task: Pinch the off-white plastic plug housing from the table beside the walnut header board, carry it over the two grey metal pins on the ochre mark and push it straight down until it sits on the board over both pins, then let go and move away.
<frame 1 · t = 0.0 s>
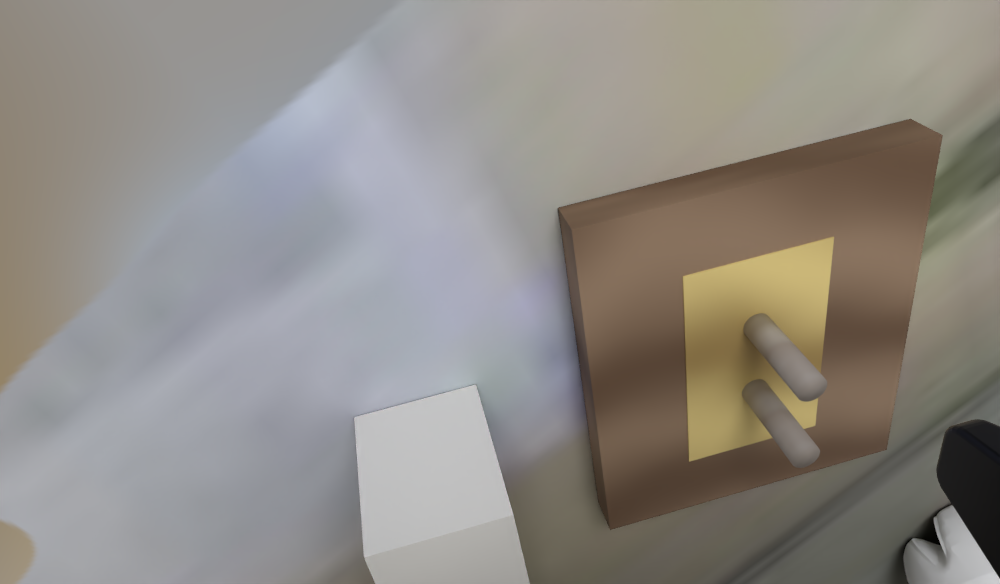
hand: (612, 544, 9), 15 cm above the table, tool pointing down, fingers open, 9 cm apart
plug housing: (438, 475, 29), on the table
header board: (735, 333, 28), on the table
water bottle: (949, 530, 39), on the table
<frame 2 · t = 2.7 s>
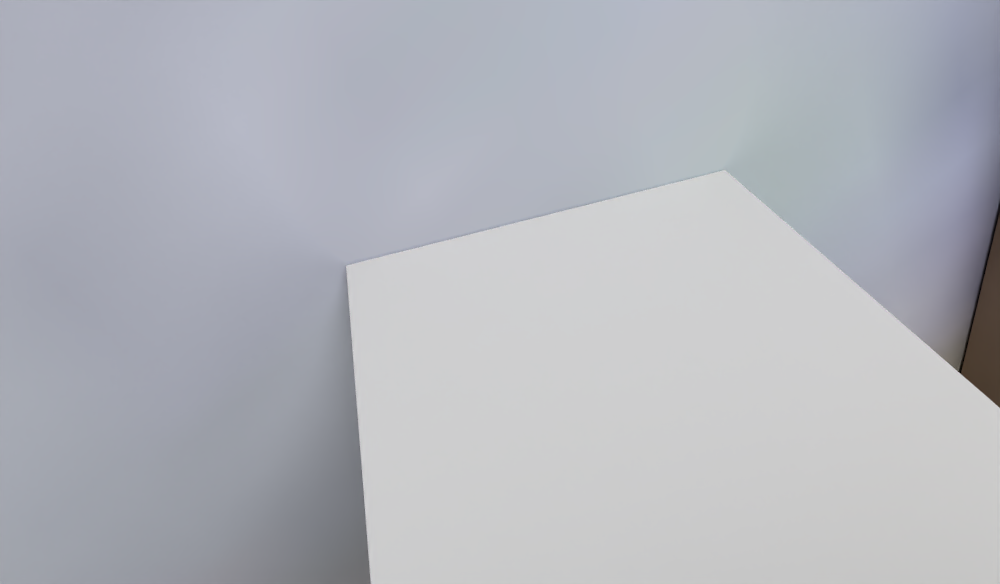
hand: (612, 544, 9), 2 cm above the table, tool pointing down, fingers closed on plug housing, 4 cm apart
plug housing: (576, 457, 11), on the table, touching gripper
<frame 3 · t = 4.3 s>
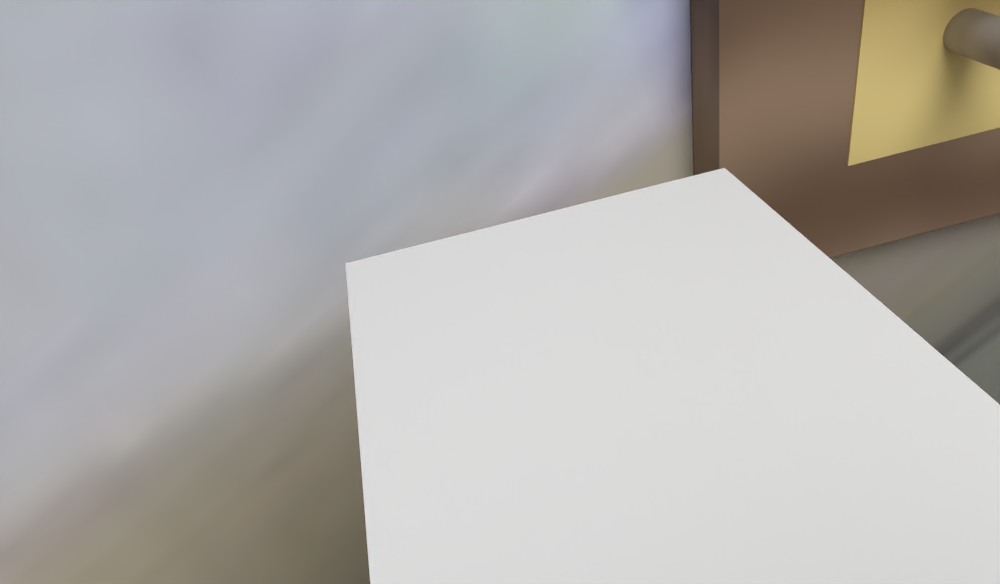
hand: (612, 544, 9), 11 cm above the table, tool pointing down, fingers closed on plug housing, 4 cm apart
plug housing: (576, 455, 11), point 10 cm above the table, touching gripper
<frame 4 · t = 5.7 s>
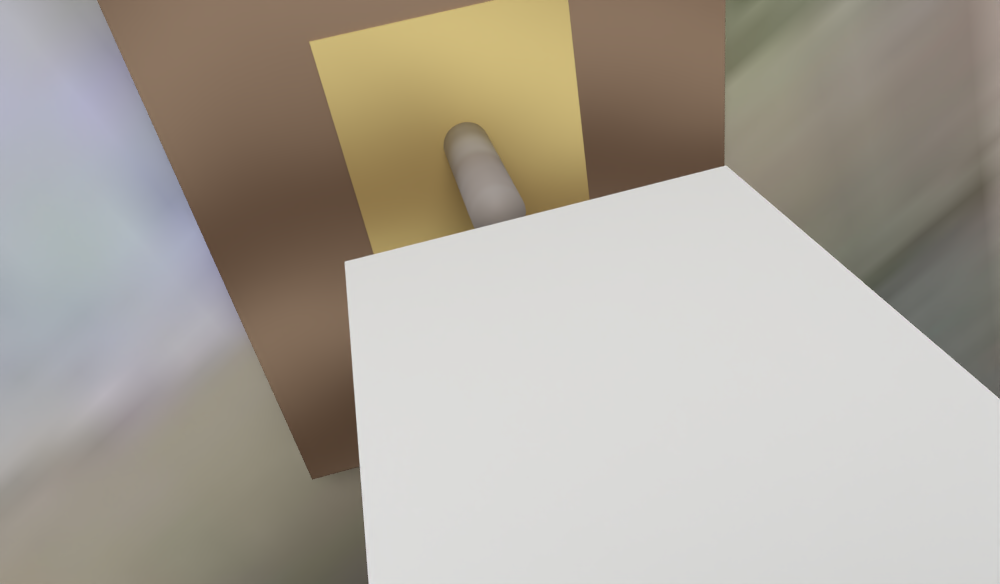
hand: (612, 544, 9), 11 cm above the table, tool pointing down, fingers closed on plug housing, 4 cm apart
plug housing: (576, 455, 11), point 10 cm above the table, touching gripper
header board: (467, 177, 18), on the table
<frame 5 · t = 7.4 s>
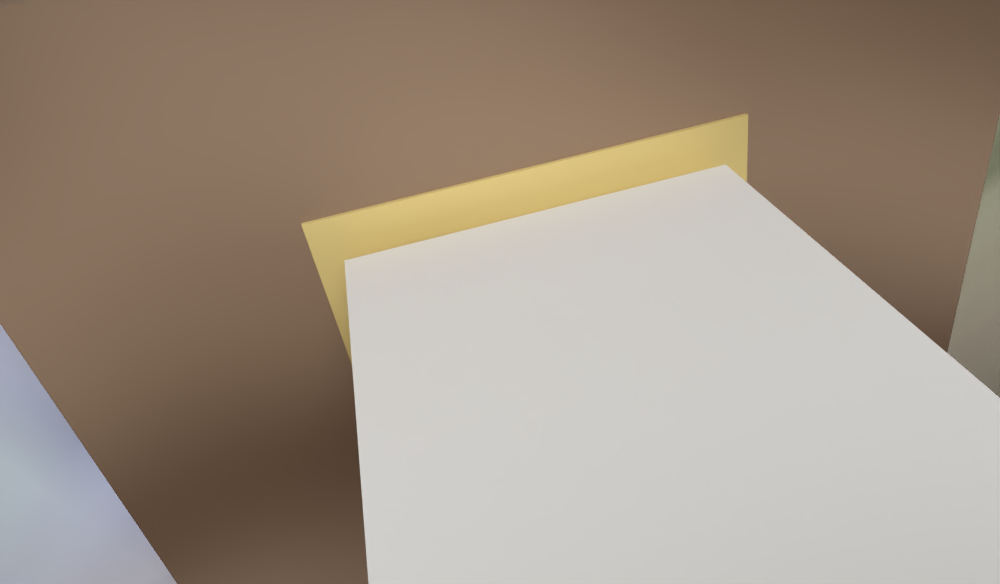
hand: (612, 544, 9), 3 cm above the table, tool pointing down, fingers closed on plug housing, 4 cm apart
plug housing: (576, 454, 11), point 2 cm above the table, touching gripper
header board: (545, 372, 12), on the table
when the fingers open (3 cm above the table, at t = 8.6 s): plug housing stays where it is, resting on header board.
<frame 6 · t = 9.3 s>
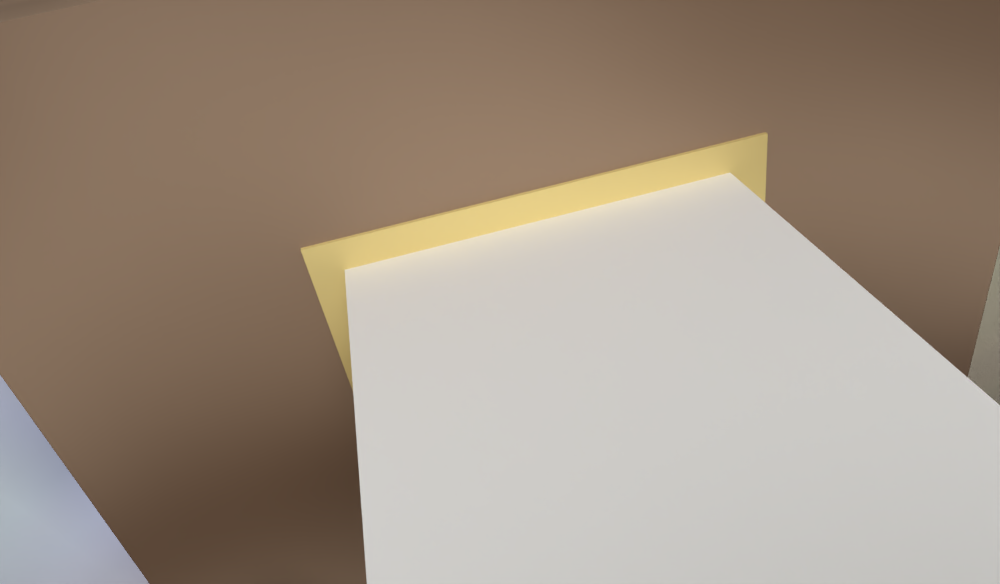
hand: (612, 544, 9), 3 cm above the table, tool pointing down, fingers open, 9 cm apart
plug housing: (578, 463, 10), point 2 cm above the table, touching header board
header board: (552, 393, 12), on the table
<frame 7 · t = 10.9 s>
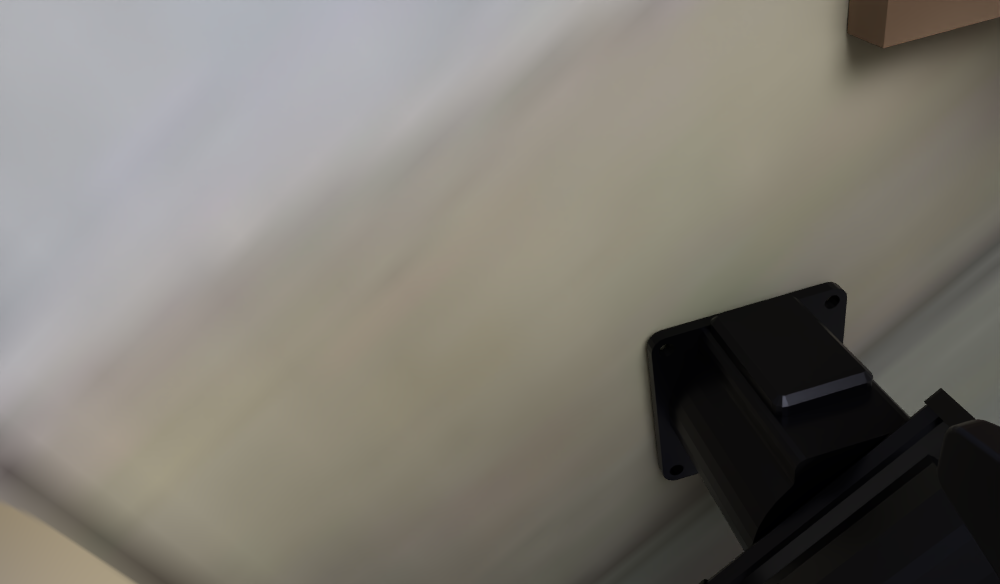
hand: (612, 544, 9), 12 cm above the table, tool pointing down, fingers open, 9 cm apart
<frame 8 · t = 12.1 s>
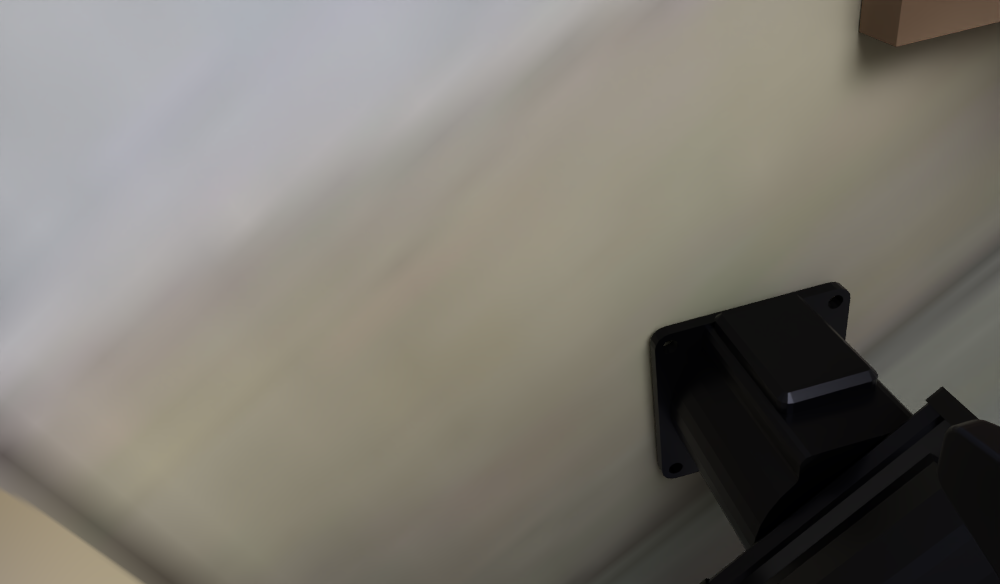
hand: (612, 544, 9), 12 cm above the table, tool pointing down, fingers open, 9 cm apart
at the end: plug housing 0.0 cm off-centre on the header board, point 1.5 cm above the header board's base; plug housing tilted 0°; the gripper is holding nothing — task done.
